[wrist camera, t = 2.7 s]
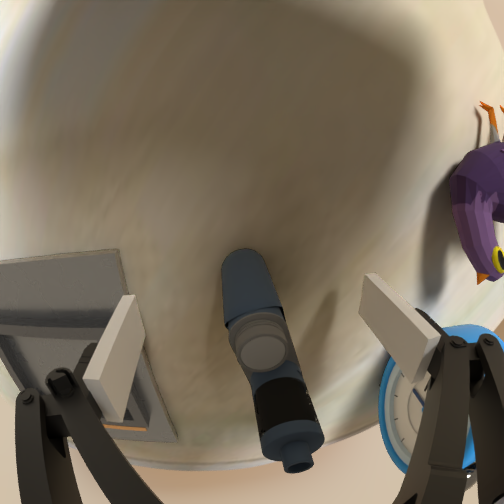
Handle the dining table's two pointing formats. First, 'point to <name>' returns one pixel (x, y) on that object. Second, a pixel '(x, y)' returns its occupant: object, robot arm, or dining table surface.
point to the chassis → (72, 330)
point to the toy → (481, 203)
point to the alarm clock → (417, 409)
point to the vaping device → (269, 362)
